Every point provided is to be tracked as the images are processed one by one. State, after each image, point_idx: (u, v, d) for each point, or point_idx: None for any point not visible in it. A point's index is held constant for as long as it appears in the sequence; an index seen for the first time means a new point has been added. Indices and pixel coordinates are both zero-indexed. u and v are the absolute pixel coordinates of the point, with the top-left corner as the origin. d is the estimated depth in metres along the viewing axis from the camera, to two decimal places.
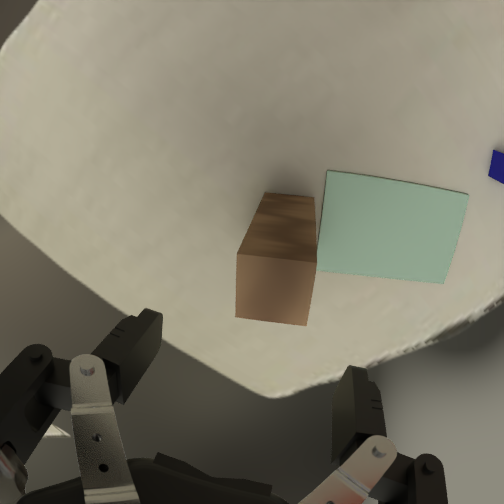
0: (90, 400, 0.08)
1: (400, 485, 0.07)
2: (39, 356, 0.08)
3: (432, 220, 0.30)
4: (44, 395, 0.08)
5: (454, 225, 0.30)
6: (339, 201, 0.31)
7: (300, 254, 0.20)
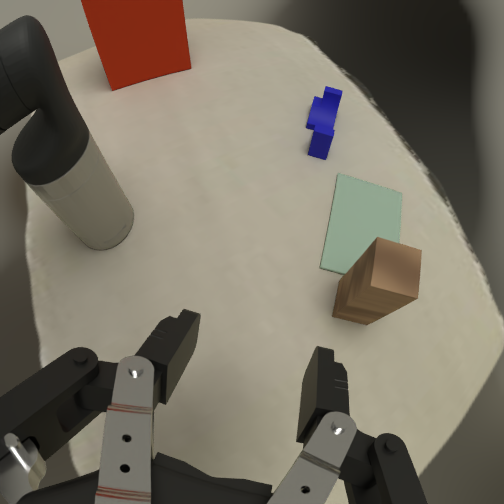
0: (131, 401, 0.08)
1: (361, 464, 0.08)
2: (84, 360, 0.09)
3: (356, 199, 0.46)
4: (82, 398, 0.09)
5: (359, 184, 0.47)
6: (343, 262, 0.42)
7: (372, 250, 0.29)
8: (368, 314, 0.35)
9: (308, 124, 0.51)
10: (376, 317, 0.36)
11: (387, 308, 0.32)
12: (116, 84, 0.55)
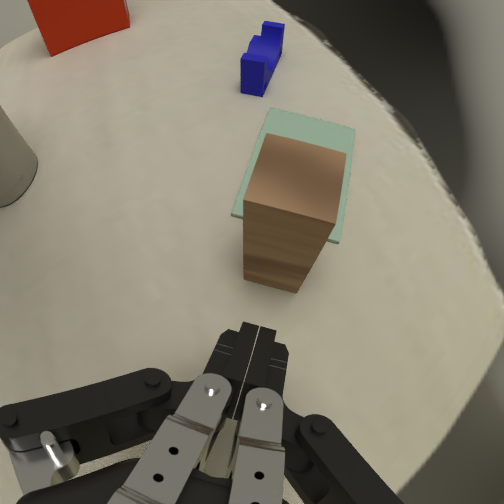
0: (195, 417, 0.08)
1: (287, 444, 0.09)
2: (156, 382, 0.09)
3: (291, 134, 0.36)
4: (144, 419, 0.09)
5: (296, 118, 0.37)
6: None
7: None
8: (283, 270, 0.25)
9: None
10: (298, 276, 0.25)
11: (301, 254, 0.21)
12: (54, 49, 0.45)
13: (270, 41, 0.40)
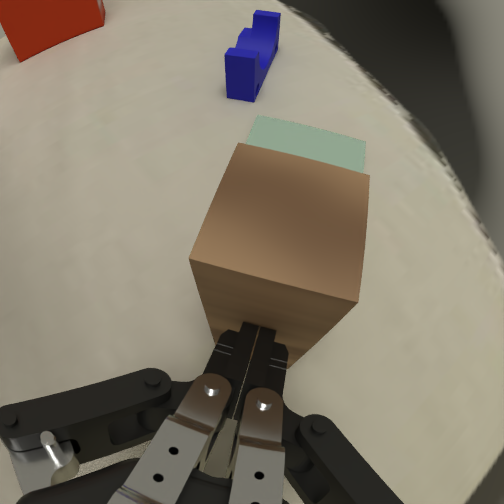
0: (195, 417, 0.08)
1: (287, 444, 0.09)
2: (157, 382, 0.09)
3: (283, 150, 0.28)
4: (144, 419, 0.09)
5: (291, 129, 0.29)
6: None
7: None
8: None
9: None
10: (290, 356, 0.17)
11: (294, 336, 0.13)
12: (23, 54, 0.37)
13: (263, 34, 0.32)
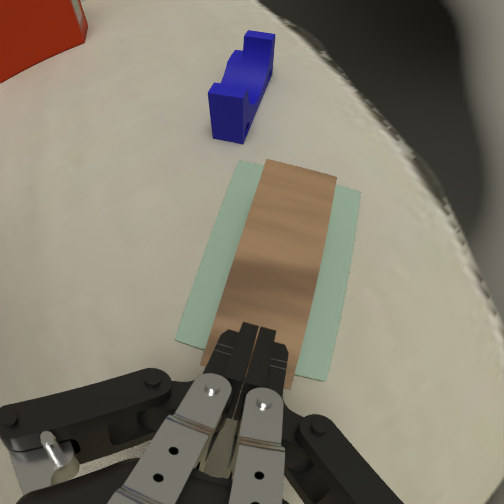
0: (195, 417, 0.08)
1: (287, 444, 0.09)
2: (156, 382, 0.09)
3: None
4: (144, 419, 0.09)
5: None
6: None
7: None
8: (281, 294, 0.18)
9: None
10: (301, 307, 0.18)
11: (308, 238, 0.19)
12: (2, 75, 0.35)
13: (255, 59, 0.30)
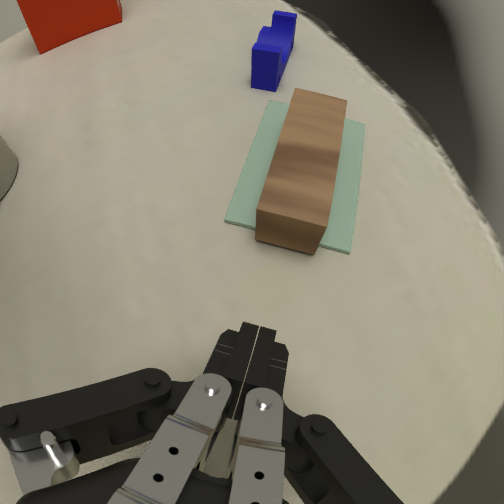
0: (195, 417, 0.08)
1: (287, 444, 0.09)
2: (156, 382, 0.09)
3: None
4: (144, 419, 0.09)
5: None
6: None
7: None
8: (314, 164, 0.24)
9: None
10: (329, 173, 0.23)
11: (330, 133, 0.25)
12: (43, 46, 0.41)
13: (281, 32, 0.35)
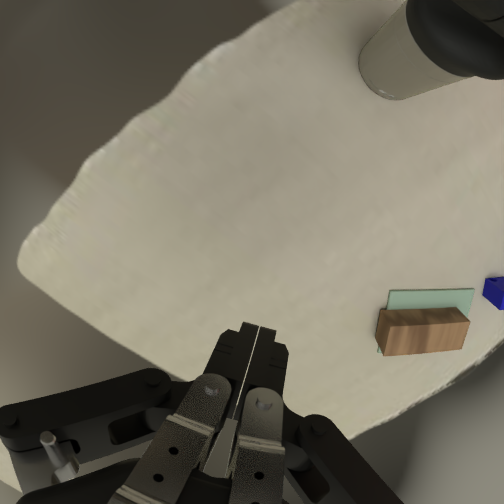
0: (195, 417, 0.08)
1: (287, 444, 0.09)
2: (156, 382, 0.09)
3: None
4: (144, 419, 0.09)
5: (465, 309, 0.44)
6: (396, 309, 0.45)
7: (455, 310, 0.43)
8: (416, 344, 0.41)
9: None
10: (412, 351, 0.41)
11: (437, 346, 0.41)
12: None
13: None
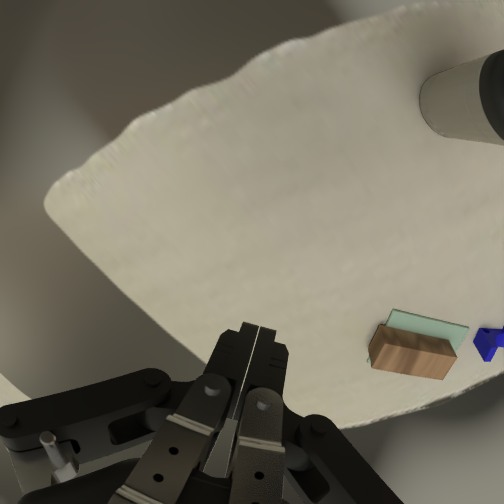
0: (195, 417, 0.08)
1: (287, 444, 0.09)
2: (157, 382, 0.09)
3: None
4: (144, 419, 0.09)
5: (455, 344, 0.46)
6: (394, 327, 0.47)
7: (446, 342, 0.45)
8: (404, 364, 0.44)
9: None
10: (398, 370, 0.44)
11: (421, 371, 0.43)
12: None
13: None
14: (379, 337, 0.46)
